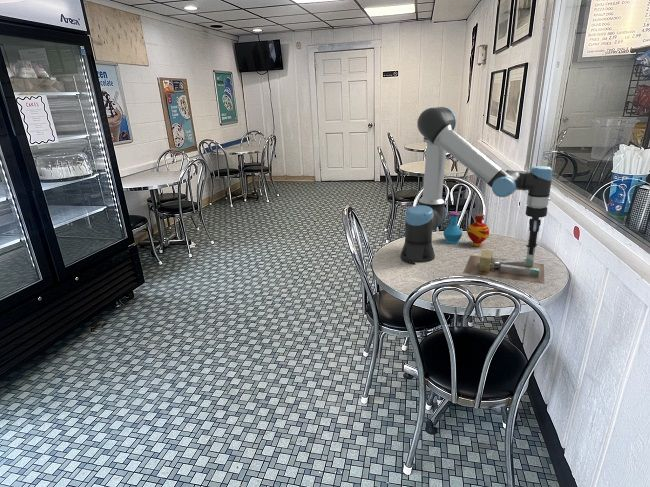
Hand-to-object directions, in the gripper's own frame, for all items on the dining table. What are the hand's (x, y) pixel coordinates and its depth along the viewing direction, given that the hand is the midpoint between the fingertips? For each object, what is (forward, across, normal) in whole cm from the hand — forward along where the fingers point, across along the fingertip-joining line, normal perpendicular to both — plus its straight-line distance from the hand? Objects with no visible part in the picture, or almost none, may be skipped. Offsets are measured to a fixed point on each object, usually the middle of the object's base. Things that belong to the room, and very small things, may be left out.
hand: (529, 260), depth 164 cm
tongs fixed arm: (+1, -11, +8) cm, 14 cm away
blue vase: (+3, +23, +35) cm, 42 cm away
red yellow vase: (+3, +22, +23) cm, 32 cm away
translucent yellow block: (+1, -10, +16) cm, 19 cm away
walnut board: (+3, -8, +9) cm, 13 cm away
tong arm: (+1, -7, +6) cm, 9 cm away
